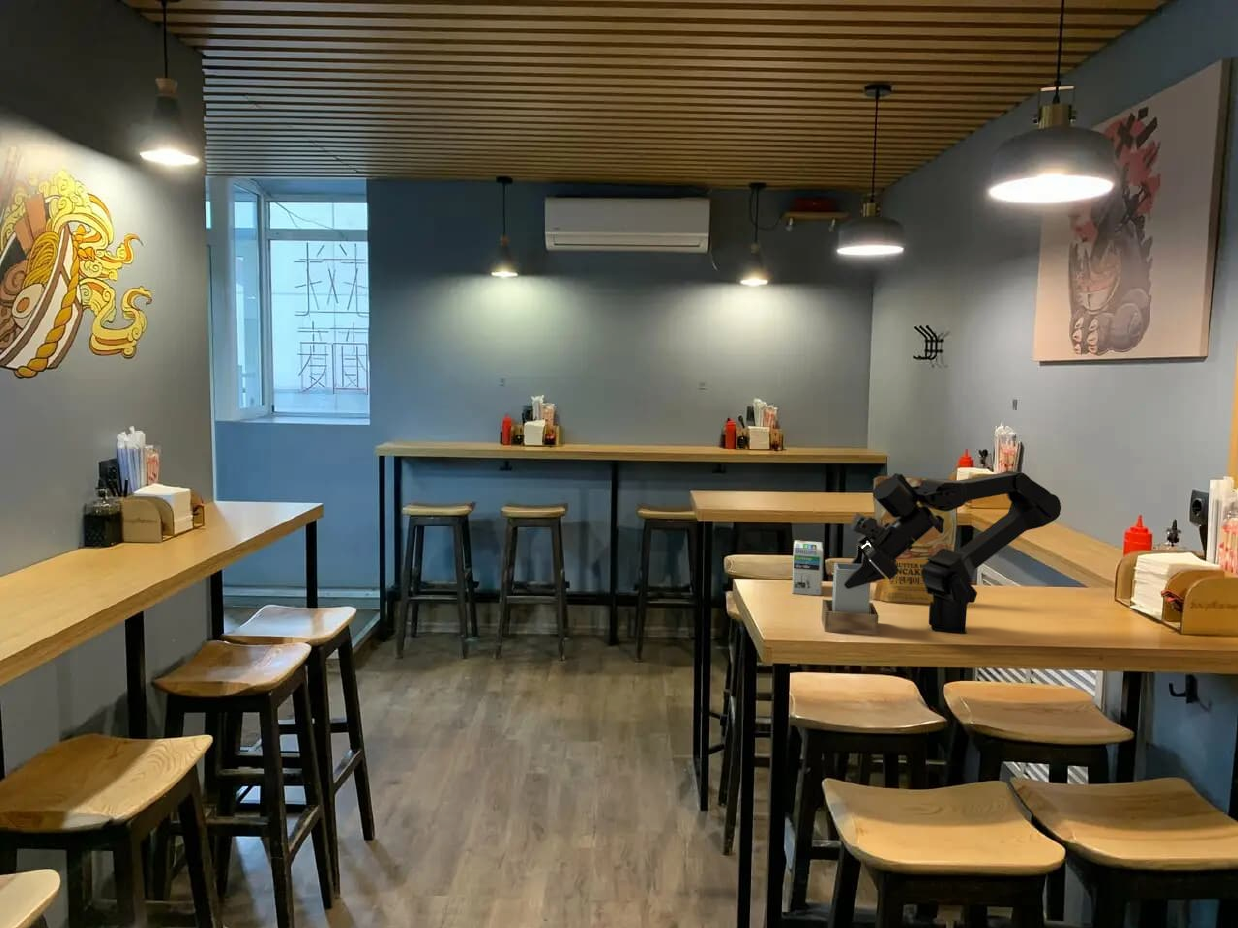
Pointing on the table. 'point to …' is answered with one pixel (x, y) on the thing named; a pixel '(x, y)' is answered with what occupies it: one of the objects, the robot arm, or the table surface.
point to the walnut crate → (849, 620)
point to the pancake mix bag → (913, 554)
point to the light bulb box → (807, 567)
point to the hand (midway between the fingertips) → (844, 582)
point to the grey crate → (849, 591)
